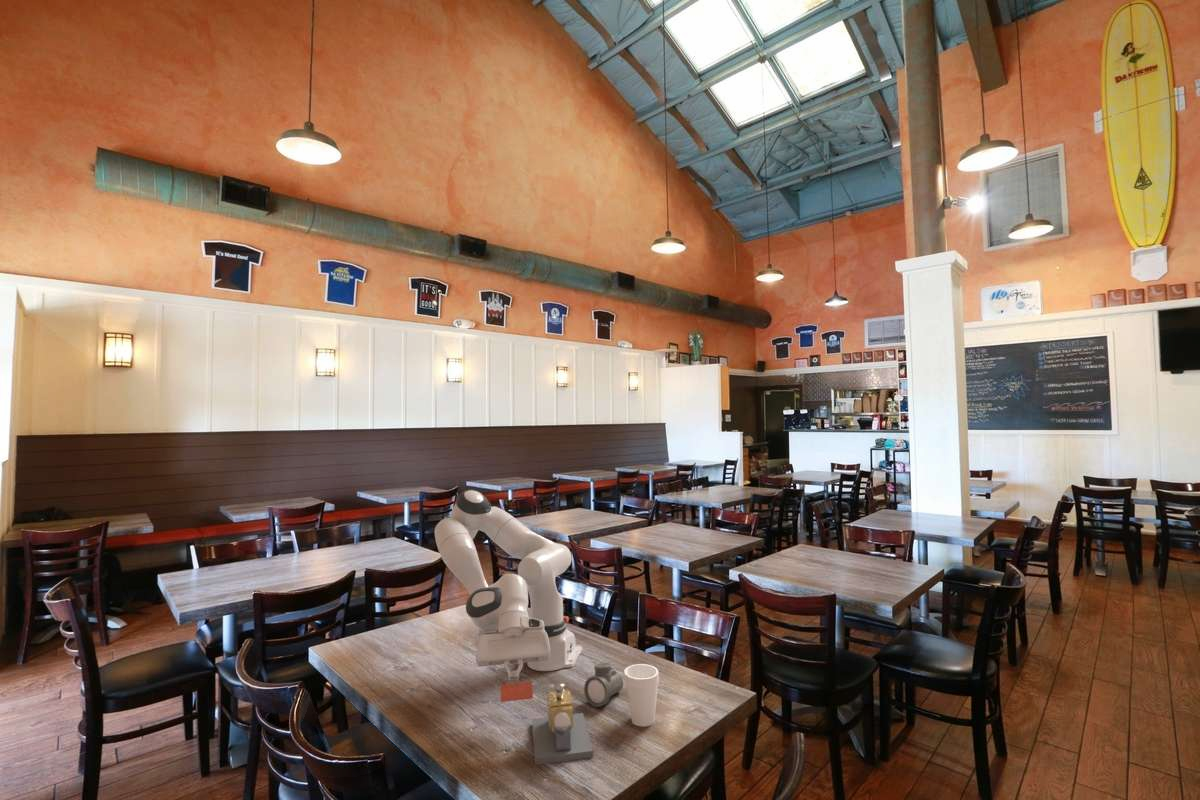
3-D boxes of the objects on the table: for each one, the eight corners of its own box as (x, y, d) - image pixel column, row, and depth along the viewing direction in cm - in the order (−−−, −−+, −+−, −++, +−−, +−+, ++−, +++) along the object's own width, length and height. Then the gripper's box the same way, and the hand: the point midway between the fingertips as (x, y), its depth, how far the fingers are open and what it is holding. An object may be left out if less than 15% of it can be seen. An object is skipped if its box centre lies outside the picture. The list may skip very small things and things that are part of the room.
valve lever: (564, 689, 141) (564, 677, 141) (565, 694, 138) (565, 682, 139) (500, 696, 139) (500, 684, 139) (500, 702, 136) (500, 689, 136)
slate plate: (583, 718, 149) (583, 712, 149) (592, 757, 131) (592, 750, 131) (532, 724, 147) (532, 718, 147) (535, 764, 129) (534, 758, 129)
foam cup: (632, 732, 141) (630, 681, 142) (621, 714, 150) (619, 667, 151) (665, 725, 144) (663, 675, 145) (652, 708, 153) (651, 661, 154)
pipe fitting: (606, 710, 152) (605, 671, 154) (583, 705, 157) (582, 667, 159) (628, 697, 162) (627, 660, 164) (606, 692, 166) (605, 657, 168)
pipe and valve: (568, 716, 147) (567, 674, 148) (575, 750, 132) (574, 703, 132) (547, 719, 146) (546, 677, 147) (551, 753, 131) (550, 706, 131)
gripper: (475, 626, 150) (473, 678, 140) (549, 620, 154) (551, 670, 143) (477, 636, 155) (474, 687, 144) (548, 630, 158) (551, 680, 148)
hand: (513, 679), depth 144 cm, fingers closed
